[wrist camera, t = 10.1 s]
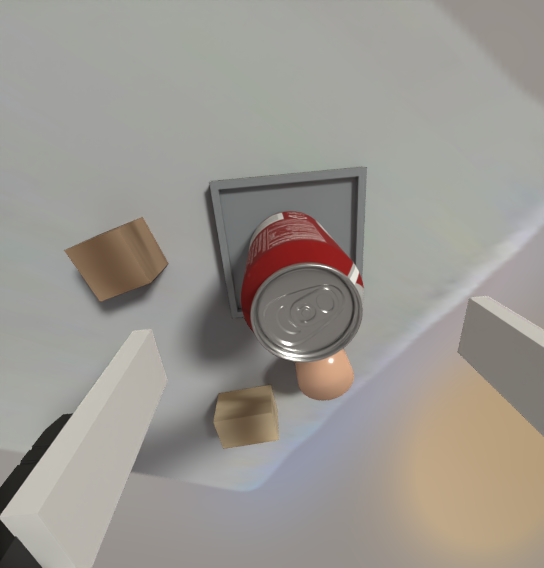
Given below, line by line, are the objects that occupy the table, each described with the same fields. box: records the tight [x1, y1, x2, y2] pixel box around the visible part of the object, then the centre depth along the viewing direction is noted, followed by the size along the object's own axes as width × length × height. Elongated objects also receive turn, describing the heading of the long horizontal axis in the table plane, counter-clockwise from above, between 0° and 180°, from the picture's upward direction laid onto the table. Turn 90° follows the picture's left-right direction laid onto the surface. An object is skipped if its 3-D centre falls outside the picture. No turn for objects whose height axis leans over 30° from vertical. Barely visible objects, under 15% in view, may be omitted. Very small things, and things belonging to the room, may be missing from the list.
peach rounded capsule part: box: [295, 348, 354, 400], centre depth 28 cm, size 5×5×5 cm
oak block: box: [213, 385, 279, 449], centre depth 31 cm, size 6×4×4 cm, turn 101°
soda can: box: [241, 211, 364, 362], centre depth 20 cm, size 7×7×12 cm
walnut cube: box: [64, 217, 168, 302], centre depth 23 cm, size 4×4×4 cm
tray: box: [209, 167, 367, 318], centre depth 25 cm, size 12×12×1 cm
